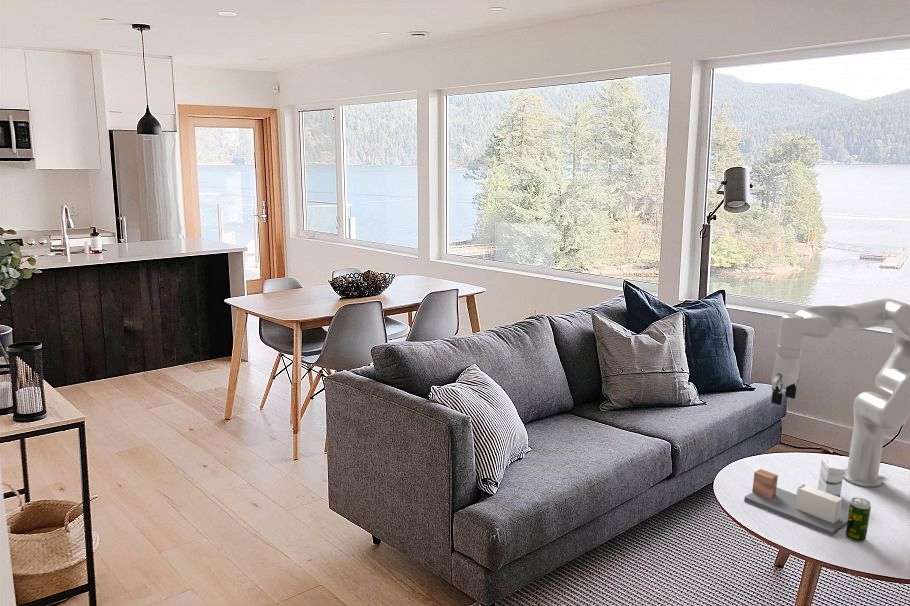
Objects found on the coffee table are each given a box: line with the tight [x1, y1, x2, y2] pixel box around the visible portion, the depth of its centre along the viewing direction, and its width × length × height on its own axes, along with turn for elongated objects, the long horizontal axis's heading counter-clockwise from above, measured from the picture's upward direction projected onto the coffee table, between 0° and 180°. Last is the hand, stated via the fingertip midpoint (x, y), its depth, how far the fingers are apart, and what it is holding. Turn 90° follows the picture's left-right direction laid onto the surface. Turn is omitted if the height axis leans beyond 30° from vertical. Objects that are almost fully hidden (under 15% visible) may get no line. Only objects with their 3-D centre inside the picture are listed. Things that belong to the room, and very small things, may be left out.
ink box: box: [817, 457, 845, 498], centre depth 245 cm, size 8×5×12 cm, turn 168°
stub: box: [751, 468, 779, 498], centre depth 243 cm, size 4×6×7 cm, turn 41°
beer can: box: [845, 497, 872, 544], centre depth 219 cm, size 5×5×12 cm
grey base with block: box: [743, 484, 849, 537], centre depth 235 cm, size 15×28×9 cm, turn 41°
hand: (783, 400), depth 247 cm, fingers open, 9 cm apart
